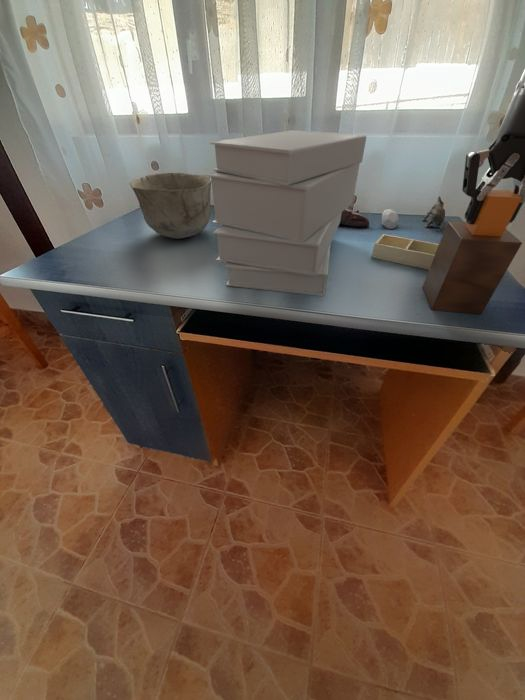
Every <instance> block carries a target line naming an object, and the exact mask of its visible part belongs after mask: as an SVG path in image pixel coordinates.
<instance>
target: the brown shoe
mask: <svg viewBox="0 0 525 700" xmlns="http://www.w3.org/2000/svg"><path fill="white" fill-rule="evenodd" d="M370 223H371V222H370V220H369V219H368V217H366V216H364V215H363V214H362V213H360V210H358V209H357V210H356V211H353V210H352V208H350V207H347V208H346V209H345V210H344V211H342V214H341V220H340V223H339V225H343V226H347V227H354V228H368V227H370Z"/></svg>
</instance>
